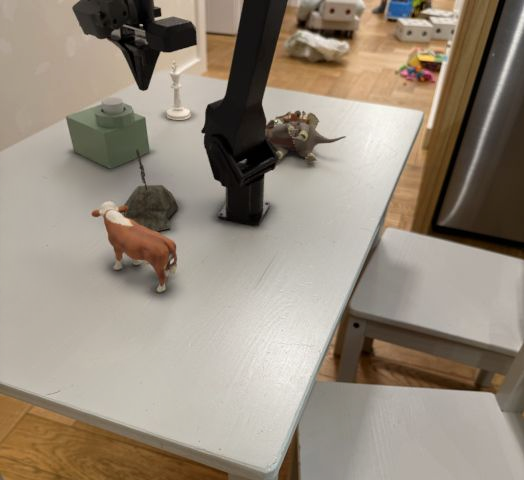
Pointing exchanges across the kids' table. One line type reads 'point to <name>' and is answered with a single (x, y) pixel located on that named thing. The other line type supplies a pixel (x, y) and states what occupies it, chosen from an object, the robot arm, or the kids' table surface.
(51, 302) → the kids' table surface
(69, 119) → the green push button box
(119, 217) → the bull figurine
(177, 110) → the chess piece
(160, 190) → the sword in stone
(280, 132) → the figurine
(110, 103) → the flush button
